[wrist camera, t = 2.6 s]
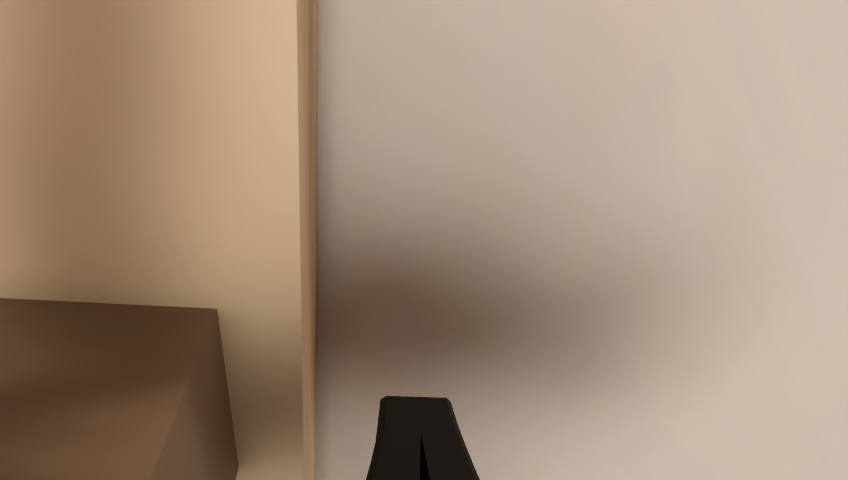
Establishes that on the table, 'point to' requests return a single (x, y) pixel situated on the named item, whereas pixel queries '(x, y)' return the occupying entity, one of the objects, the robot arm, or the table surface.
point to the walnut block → (113, 393)
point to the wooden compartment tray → (174, 184)
